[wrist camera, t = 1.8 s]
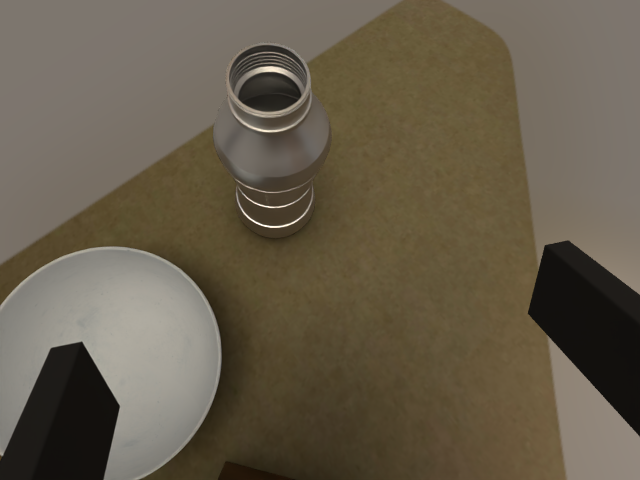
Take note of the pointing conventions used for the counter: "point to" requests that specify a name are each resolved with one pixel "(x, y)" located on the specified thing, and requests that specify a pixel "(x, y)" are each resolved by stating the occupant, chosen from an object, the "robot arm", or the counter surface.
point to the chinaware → (117, 347)
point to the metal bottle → (272, 138)
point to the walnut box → (246, 473)
